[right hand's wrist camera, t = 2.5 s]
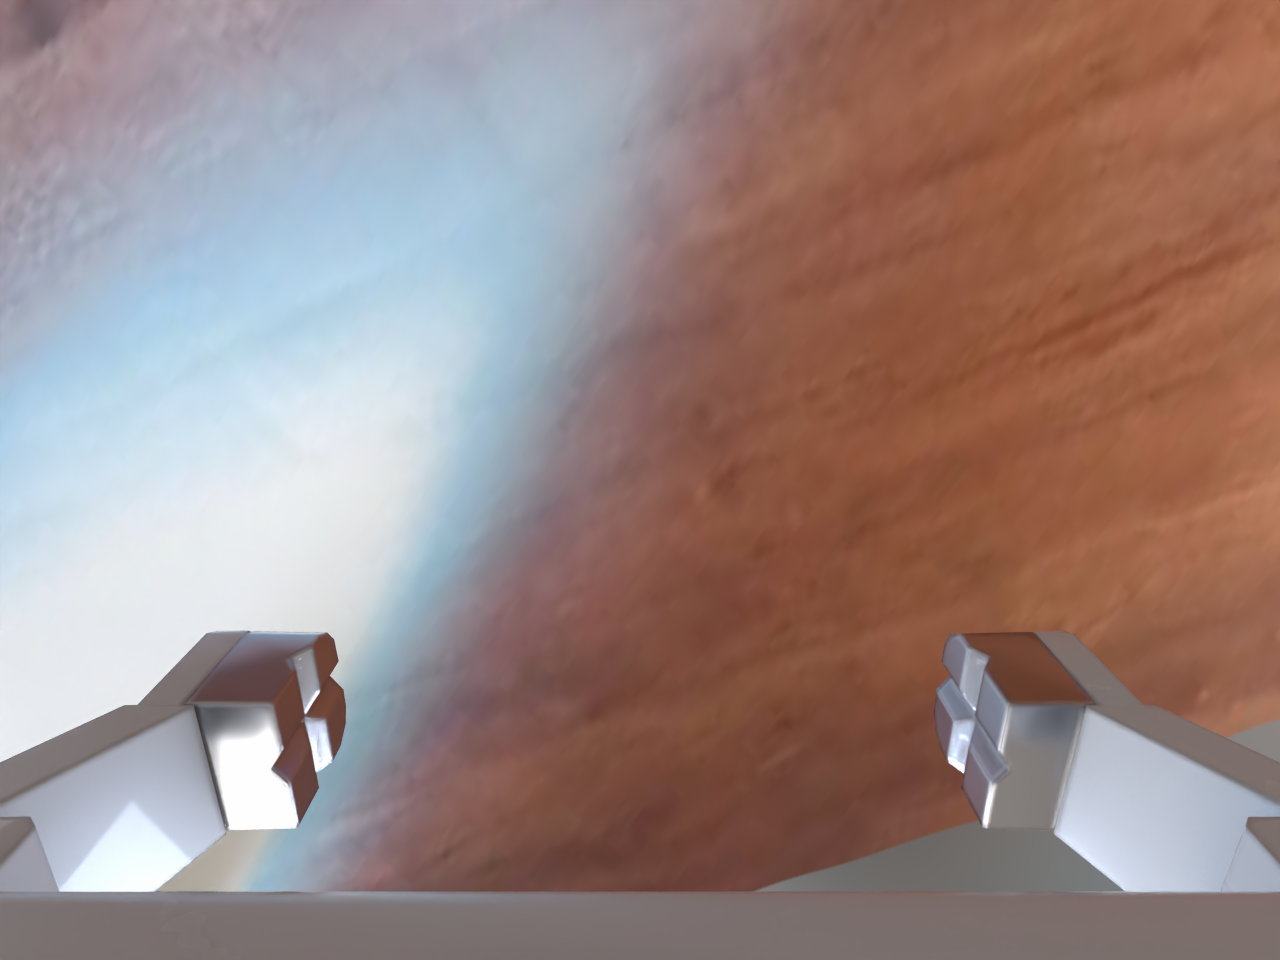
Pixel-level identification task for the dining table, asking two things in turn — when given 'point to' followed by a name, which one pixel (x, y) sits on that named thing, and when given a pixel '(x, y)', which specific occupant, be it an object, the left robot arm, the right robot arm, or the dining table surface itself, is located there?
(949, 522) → the dining table surface
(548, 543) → the dining table surface
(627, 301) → the dining table surface
